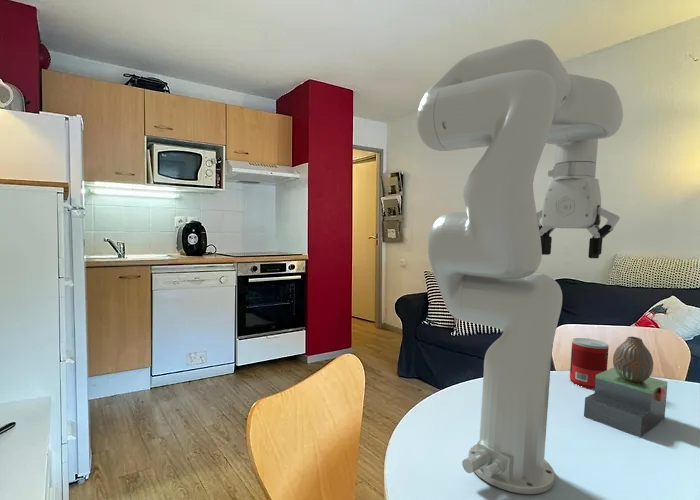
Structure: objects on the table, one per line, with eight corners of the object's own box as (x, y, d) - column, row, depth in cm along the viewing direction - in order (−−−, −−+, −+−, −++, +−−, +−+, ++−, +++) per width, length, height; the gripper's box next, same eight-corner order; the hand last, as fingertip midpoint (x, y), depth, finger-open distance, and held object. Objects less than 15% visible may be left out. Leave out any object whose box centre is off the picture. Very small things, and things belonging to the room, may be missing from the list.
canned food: (611, 391, 97) (614, 347, 97) (575, 387, 99) (578, 344, 98) (598, 380, 105) (601, 339, 104) (565, 377, 106) (568, 336, 106)
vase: (612, 370, 88) (615, 331, 88) (651, 378, 84) (654, 337, 84) (611, 379, 83) (614, 337, 82) (652, 388, 79) (656, 344, 78)
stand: (645, 439, 74) (649, 397, 74) (583, 416, 83) (586, 378, 82) (669, 420, 82) (672, 383, 82) (611, 401, 91) (613, 367, 91)
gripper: (524, 175, 86) (519, 253, 87) (614, 167, 73) (607, 260, 73) (542, 179, 91) (537, 253, 92) (629, 172, 77) (623, 259, 78)
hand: (568, 256), depth 83 cm, fingers open, 9 cm apart
